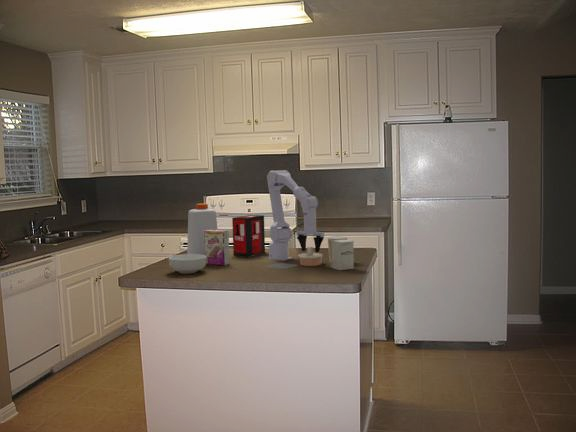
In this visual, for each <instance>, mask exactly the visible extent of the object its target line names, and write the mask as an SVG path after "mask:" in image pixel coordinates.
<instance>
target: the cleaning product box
mask: <svg viewBox="0 0 576 432" xmlns="http://www.w3.org/2000/svg"><path fill="white" fill-rule="evenodd" d="M231 220H232V223H231V224H232V249H233V250H232V252H233V257H241V258H251V257H254V256H257V255H260V254H265V253H266V246H265V244H266V241H265V235H266V234H265V215H263V214H261V215H260V214H259V215H258V214H257V215H256V214H249V215H241V216H236V217H232V219H231ZM253 255H254V256H253Z"/></svg>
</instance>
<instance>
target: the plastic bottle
mask: <svg viewBox="0 0 576 432" xmlns="http://www.w3.org/2000/svg"><path fill="white" fill-rule="evenodd" d="M208 206H209V205H208V203H196V204H195V208H193V209H190V210H188V212H187V213H188V214H187V215H188V216H187V217H188V218H187V244H186V245H187V249H186V250H187V251H186V254H199V255H205V243H204V231H205V230H219V229H218V221H217V220H218V219H217V211H216V210H215V209H212V208H209V207H208Z"/></svg>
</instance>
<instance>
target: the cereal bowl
mask: <svg viewBox="0 0 576 432" xmlns="http://www.w3.org/2000/svg"><path fill="white" fill-rule="evenodd" d="M206 260H207V257H206V256H205V255H199V254H187V253H185V254H176V255H175V254H174V255H171V256H169V257H168V264H169V266H170V268H171V269H172V270H174V271H176V272H178V273H179V274H184V275H186V274H195V273H197V272H198V271H201V270H202V269H204V268H205V267H206V265H207V264H206Z"/></svg>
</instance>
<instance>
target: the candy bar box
mask: <svg viewBox="0 0 576 432" xmlns="http://www.w3.org/2000/svg"><path fill="white" fill-rule="evenodd" d="M229 237H230V236H229V230H225V229H223V230H221V229H218V230H205V231H204V243H205V256H206V257H207V260H206V265H211V266H227V265H230V243H229V242H230V240H229V239H230V238H229Z"/></svg>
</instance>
